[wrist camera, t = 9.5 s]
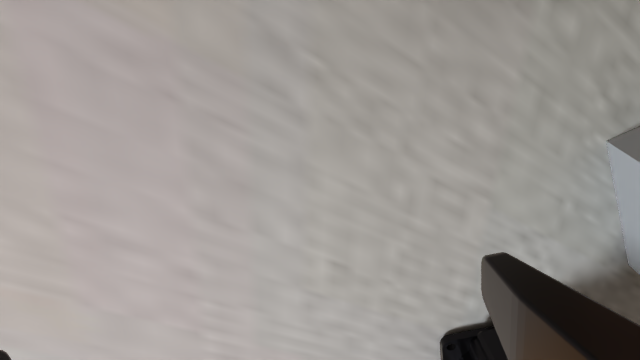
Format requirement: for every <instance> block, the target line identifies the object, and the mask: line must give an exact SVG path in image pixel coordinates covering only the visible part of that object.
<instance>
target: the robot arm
mask: <svg viewBox="0 0 640 360" xmlns="http://www.w3.org/2000/svg"><path fill="white" fill-rule="evenodd" d="M481 289H482V296H483V300H484V302H485V305H486V307H487V310H488V312H489V315H490V317H491V320H492V322H493V324H494V326H493V327H488V328H483V329H478V330H472V331H467V332H462V333H457V334H452V335H447V336H445V337H443V338H442V339H441V341H440V353H441V360H640V325H638V324H636V323H634V322H632V321H630V320H629V319H627V318H625V317H623V316H621V315H619V314H617V313H616V312H614V311H612V310H610V309H608V308H606V307H605V306H603V305H601V304H599V303H597V302H595V301H594V300H592V299H590V298H588V297H586V296H584V295H583V294H581V293H579V292H577V291H575V290H573V289H572V288H570V287H568V286H566V285H564V284H562V283H561V282H559V281H557V280H555V279H553V278H551V277H550V276H548V275H546V274H544V273H542V272H540V271H539V270H537V269H535V268H533V267H531V266H529V265H528V264H526V263H524V262H522V261H520V260H518V259H517V258H515V257H513V256H511V255H509V254H507V253H504V252H501V253H496V254H491V255H486V256H484V257H483V258H482V262H481ZM449 344H450V345H449ZM0 360H11V358H10V357H9V355H8V354H7V353H6V352H4V351H3V350H0Z"/></svg>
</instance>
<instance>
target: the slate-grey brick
mask: <svg viewBox="0 0 640 360" xmlns="http://www.w3.org/2000/svg"><path fill="white" fill-rule="evenodd" d="M606 143H607V148H608V154H609V159H610V165H611V170H612V176H613V182H614V187H615V193H616V198H617V204H618V209H619V215H620V220H621V226H622V232H623V237H624V243H625V248H626V254H627V259H628V265H630V266H631V267H632V268H633V269H634V270H635V271H636V272H637V273H638V274H639V275H640V127H637V128H635V129H633V130H630V131H628V132H626V133H624V134H621V135H619V136H617V137H614V138H612V139H610V140H607V141H606Z"/></svg>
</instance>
